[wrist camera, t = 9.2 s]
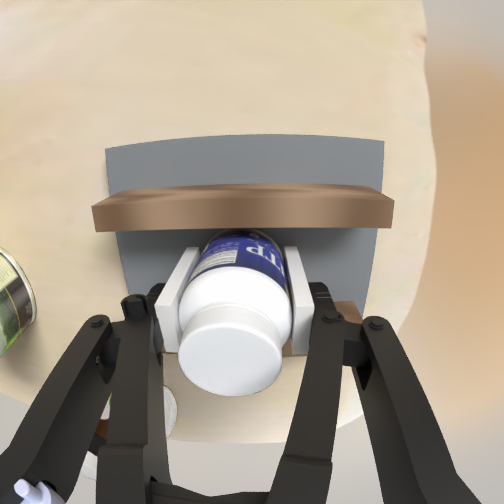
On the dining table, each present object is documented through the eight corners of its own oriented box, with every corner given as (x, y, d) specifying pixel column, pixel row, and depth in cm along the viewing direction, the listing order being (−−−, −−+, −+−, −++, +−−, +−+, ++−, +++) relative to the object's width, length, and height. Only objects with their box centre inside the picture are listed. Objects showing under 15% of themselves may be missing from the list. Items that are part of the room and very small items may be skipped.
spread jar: (65, 366, 27) (23, 437, 16) (106, 329, 24) (49, 423, 13) (139, 423, 30) (116, 495, 20) (195, 400, 27) (176, 495, 17)
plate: (146, 335, 24) (142, 344, 23) (113, 147, 17) (105, 148, 16) (352, 336, 23) (355, 345, 22) (377, 140, 17) (384, 141, 16)
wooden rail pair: (145, 316, 21) (128, 349, 18) (121, 190, 17) (91, 206, 14) (350, 317, 21) (365, 351, 17) (368, 186, 17) (394, 200, 13)
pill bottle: (298, 274, 18) (323, 378, 10) (233, 311, 20) (219, 418, 12) (253, 207, 17) (247, 282, 9) (184, 253, 18) (134, 346, 10)
